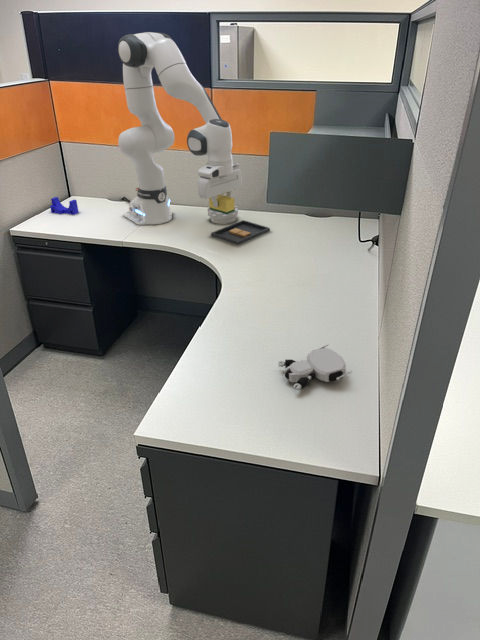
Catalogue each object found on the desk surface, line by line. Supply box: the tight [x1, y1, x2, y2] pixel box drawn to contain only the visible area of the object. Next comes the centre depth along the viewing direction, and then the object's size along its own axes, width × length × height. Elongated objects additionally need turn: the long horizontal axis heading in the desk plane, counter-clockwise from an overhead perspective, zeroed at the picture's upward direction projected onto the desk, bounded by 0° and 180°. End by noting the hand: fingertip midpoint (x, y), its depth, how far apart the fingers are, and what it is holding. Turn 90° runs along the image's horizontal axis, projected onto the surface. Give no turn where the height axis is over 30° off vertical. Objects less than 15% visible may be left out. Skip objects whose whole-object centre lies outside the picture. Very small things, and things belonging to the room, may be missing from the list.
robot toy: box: [277, 343, 353, 391], centre depth 121 cm, size 12×4×15 cm
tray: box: [210, 219, 271, 246], centre depth 202 cm, size 15×20×2 cm
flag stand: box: [207, 193, 239, 225], centre depth 209 cm, size 13×13×30 cm
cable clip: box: [49, 196, 79, 216], centre depth 227 cm, size 12×4×6 cm, turn 66°
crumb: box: [237, 231, 251, 237], centre depth 201 cm, size 4×4×1 cm
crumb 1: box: [229, 228, 243, 235], centre depth 203 cm, size 4×4×1 cm
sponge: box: [208, 194, 236, 214], centre depth 188 cm, size 9×4×5 cm, turn 48°
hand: (221, 204), depth 188 cm, fingers closed on sponge, 4 cm apart
